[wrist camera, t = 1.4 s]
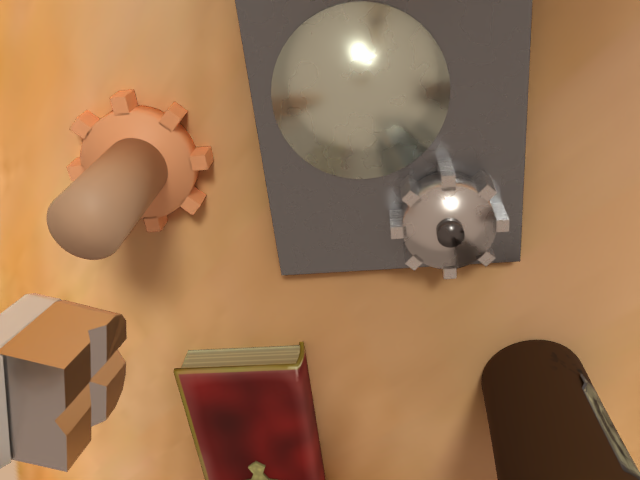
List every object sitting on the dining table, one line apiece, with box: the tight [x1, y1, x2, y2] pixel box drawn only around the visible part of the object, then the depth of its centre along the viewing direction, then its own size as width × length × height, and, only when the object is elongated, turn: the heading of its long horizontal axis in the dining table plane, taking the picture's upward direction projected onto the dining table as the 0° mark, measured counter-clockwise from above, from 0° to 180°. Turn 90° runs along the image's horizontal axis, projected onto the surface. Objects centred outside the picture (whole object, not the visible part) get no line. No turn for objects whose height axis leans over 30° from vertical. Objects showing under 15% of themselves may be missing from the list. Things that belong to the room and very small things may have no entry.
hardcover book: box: [174, 342, 325, 480], centre depth 62 cm, size 12×21×4 cm, turn 7°
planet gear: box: [47, 89, 214, 260], centre depth 45 cm, size 11×11×12 cm
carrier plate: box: [235, 0, 532, 279], centre depth 45 cm, size 24×20×6 cm
